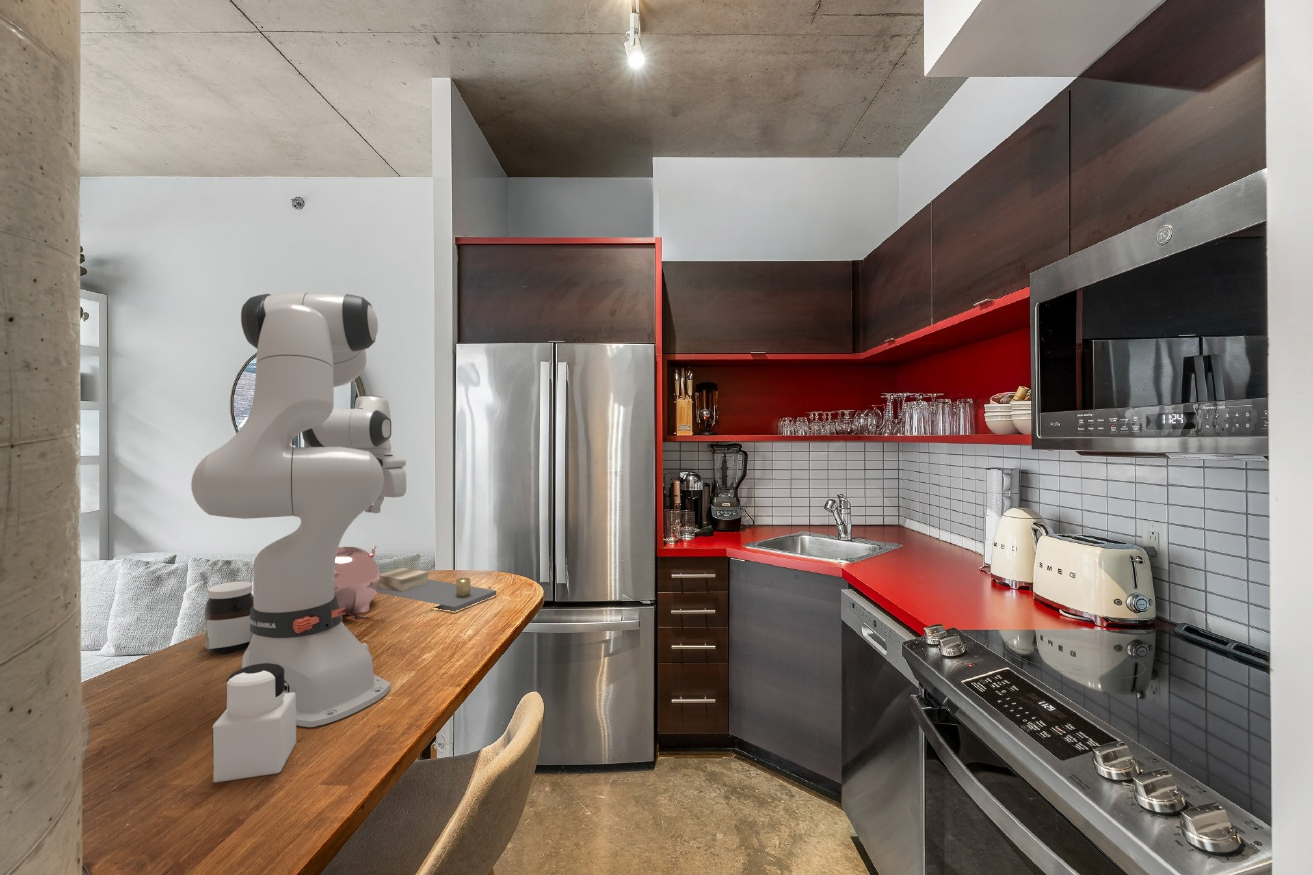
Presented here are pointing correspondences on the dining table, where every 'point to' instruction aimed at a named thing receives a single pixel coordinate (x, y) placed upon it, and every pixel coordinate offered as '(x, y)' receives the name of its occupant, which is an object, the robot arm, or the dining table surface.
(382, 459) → the robot arm
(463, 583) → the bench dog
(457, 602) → the board
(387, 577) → the beige flat block
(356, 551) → the piggy bank
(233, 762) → the medicine bottle
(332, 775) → the dining table surface
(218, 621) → the spread jar
